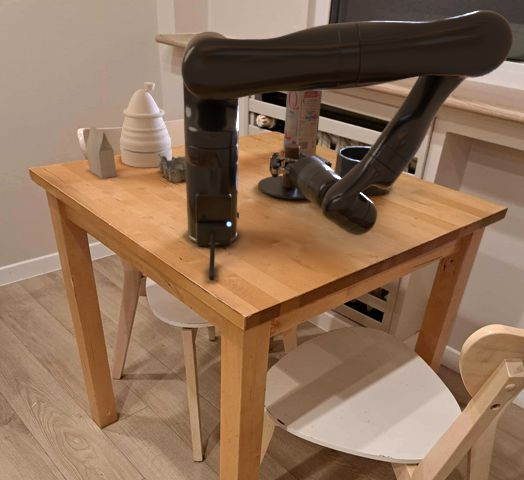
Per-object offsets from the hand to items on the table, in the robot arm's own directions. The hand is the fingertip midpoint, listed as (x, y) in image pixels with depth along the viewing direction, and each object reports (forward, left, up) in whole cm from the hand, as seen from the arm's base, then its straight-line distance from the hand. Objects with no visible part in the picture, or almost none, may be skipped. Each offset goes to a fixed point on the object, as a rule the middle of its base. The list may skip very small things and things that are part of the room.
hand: (287, 156), depth 120 cm
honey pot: (+20, +33, -7) cm, 39 cm away
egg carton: (+8, +25, -7) cm, 27 cm away
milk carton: (+28, -9, -7) cm, 31 cm away
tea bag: (+9, +43, -7) cm, 44 cm away
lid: (-2, -1, -6) cm, 7 cm away
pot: (+1, -19, -7) cm, 20 cm away
